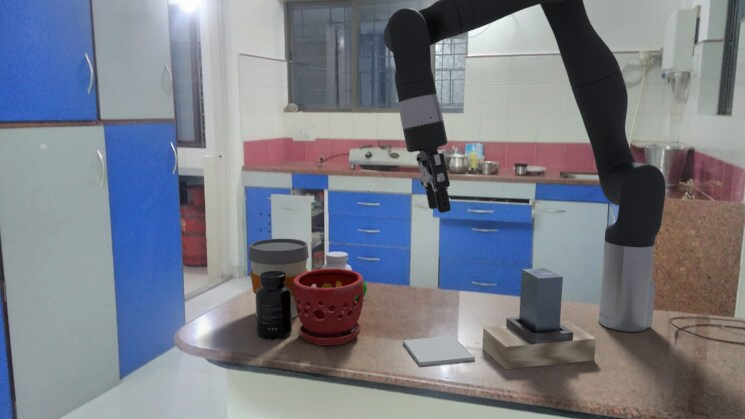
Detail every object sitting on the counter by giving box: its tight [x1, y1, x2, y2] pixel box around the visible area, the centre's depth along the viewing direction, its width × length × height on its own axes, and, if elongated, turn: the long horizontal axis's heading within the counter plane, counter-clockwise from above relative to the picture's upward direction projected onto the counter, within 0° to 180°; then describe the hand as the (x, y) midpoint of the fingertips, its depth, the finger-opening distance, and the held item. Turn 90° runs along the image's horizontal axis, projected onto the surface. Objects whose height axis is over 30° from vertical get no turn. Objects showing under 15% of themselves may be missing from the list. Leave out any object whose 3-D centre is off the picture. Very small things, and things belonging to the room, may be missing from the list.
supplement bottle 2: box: [321, 251, 353, 288], centre depth 123 cm, size 7×7×13 cm
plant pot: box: [293, 268, 364, 346], centre depth 109 cm, size 13×13×12 cm
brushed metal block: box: [518, 267, 564, 333], centre depth 101 cm, size 4×6×11 cm
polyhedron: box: [355, 280, 368, 301], centre depth 133 cm, size 5×5×5 cm
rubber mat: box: [402, 335, 476, 366], centre depth 104 cm, size 10×10×1 cm
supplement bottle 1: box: [255, 271, 293, 341], centre depth 110 cm, size 7×7×12 cm
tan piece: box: [482, 316, 597, 370], centre depth 102 cm, size 17×9×6 cm, turn 104°
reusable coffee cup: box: [248, 238, 310, 319], centre depth 122 cm, size 13×13×15 cm
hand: (439, 209), depth 106 cm, fingers open, 8 cm apart
